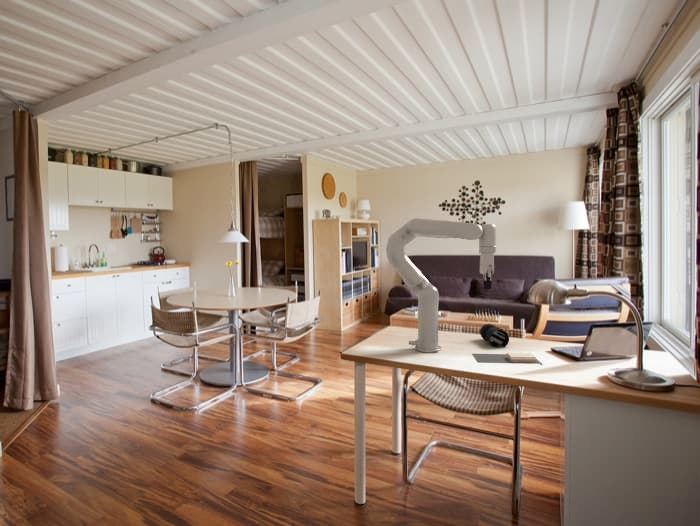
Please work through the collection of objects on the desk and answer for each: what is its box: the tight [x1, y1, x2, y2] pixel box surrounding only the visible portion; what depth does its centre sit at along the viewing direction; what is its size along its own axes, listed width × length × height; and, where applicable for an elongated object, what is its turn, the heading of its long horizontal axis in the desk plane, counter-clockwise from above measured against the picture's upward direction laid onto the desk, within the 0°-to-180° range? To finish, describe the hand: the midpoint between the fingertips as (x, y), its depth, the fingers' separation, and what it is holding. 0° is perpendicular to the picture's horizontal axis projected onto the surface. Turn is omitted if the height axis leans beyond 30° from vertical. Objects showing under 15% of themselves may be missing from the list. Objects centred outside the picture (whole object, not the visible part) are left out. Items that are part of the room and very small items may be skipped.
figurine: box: [479, 323, 510, 348], centre depth 206 cm, size 9×9×20 cm
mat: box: [471, 353, 543, 366], centre depth 178 cm, size 26×14×1 cm, turn 83°
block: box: [506, 351, 537, 362], centre depth 176 cm, size 10×2×7 cm
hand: (487, 288), depth 194 cm, fingers closed
